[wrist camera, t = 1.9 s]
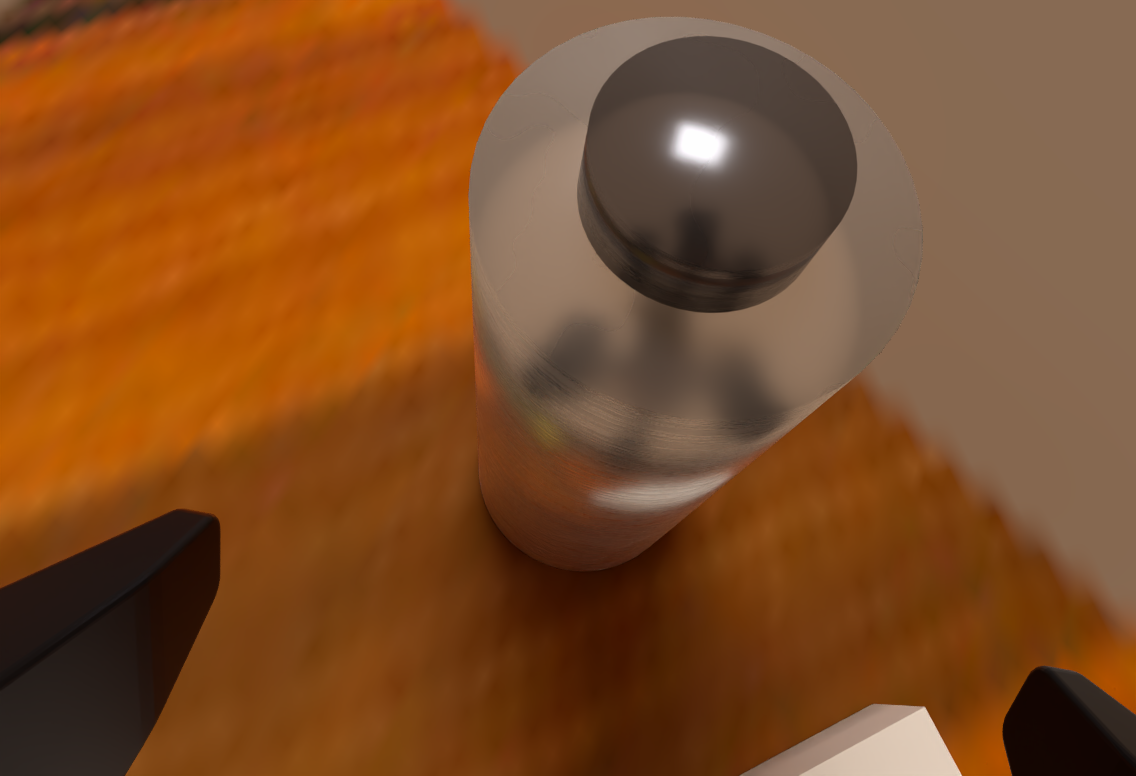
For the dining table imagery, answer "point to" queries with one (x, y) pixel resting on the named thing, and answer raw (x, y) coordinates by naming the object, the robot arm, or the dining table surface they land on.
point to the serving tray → (868, 747)
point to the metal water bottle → (670, 274)
